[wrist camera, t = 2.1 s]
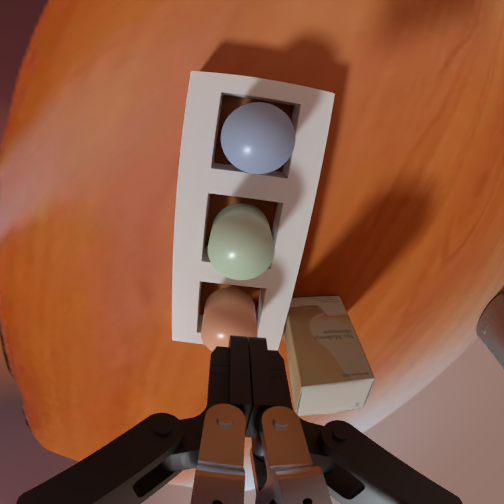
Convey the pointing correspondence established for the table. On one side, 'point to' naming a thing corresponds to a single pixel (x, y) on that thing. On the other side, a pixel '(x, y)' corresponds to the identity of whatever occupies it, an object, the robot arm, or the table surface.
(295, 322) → the skincare box
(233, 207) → the green button
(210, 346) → the terracotta button
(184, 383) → the table surface
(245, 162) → the blue button
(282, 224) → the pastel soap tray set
